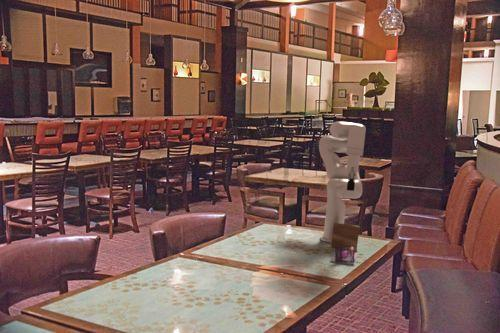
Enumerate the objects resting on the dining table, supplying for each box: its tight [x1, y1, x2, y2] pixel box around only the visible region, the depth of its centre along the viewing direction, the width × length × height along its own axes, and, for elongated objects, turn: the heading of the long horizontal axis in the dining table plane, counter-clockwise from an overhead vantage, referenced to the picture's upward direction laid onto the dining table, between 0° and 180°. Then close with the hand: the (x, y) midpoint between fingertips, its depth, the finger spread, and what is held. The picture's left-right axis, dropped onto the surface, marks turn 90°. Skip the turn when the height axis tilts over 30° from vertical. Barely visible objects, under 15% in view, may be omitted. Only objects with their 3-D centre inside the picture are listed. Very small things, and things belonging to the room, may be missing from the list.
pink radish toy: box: [334, 246, 356, 263], centre depth 225 cm, size 7×5×9 cm
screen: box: [330, 223, 360, 252], centre depth 244 cm, size 2×12×12 cm, turn 78°
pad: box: [330, 255, 355, 267], centre depth 226 cm, size 8×10×1 cm
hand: (350, 188), depth 236 cm, fingers open, 9 cm apart
